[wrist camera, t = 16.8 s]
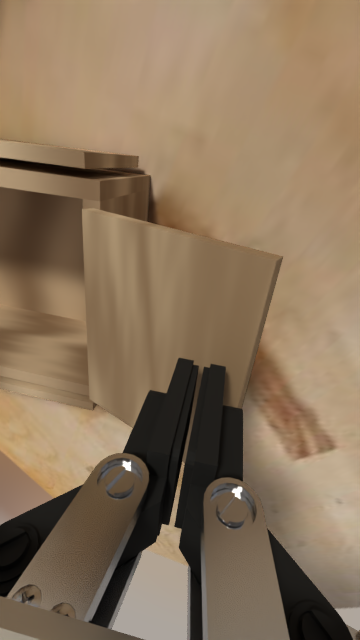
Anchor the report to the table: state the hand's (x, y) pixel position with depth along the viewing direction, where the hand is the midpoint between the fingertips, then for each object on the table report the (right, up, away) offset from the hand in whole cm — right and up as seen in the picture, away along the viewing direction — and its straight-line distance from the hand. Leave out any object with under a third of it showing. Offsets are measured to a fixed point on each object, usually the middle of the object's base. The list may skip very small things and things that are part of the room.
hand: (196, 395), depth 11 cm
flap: (-5, +3, +4) cm, 7 cm away
